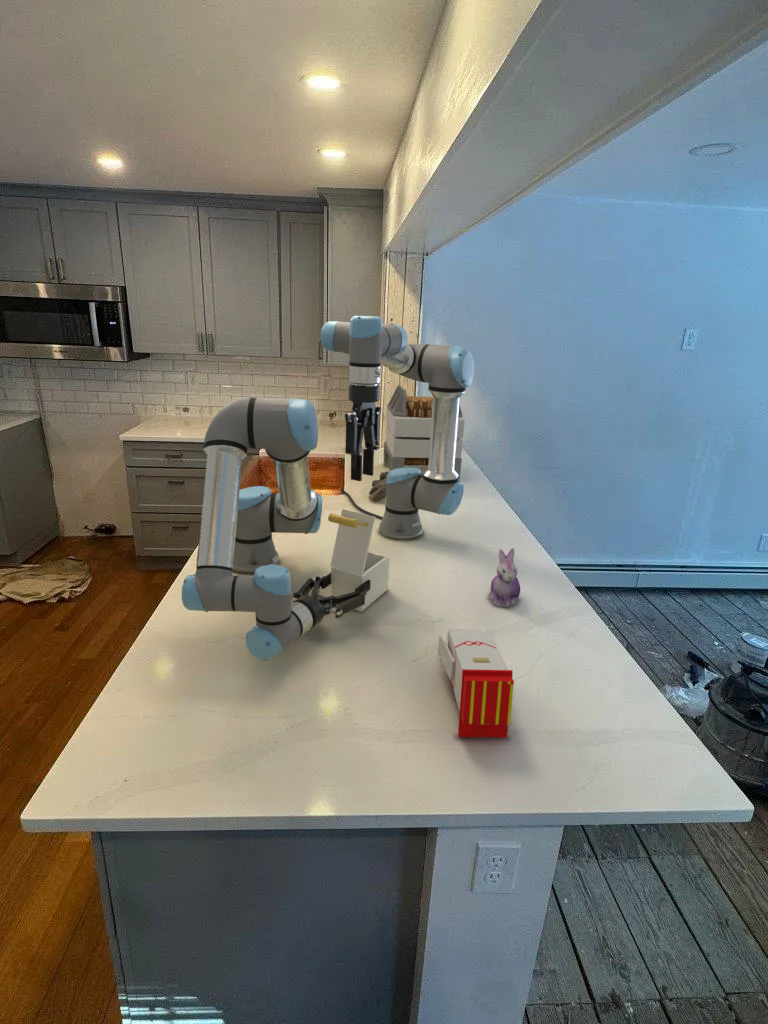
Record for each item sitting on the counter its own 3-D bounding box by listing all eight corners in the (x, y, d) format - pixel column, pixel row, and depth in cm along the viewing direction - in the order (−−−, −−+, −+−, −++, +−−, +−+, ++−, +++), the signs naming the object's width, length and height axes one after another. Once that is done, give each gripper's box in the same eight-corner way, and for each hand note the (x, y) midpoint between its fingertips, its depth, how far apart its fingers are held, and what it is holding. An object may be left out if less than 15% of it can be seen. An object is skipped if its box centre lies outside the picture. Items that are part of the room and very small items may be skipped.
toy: (488, 613, 130) (523, 677, 101) (484, 667, 133) (517, 744, 104) (435, 612, 130) (455, 676, 101) (432, 666, 133) (451, 743, 103)
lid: (343, 509, 148) (326, 507, 141) (375, 516, 144) (359, 515, 136) (331, 566, 149) (314, 567, 141) (363, 575, 144) (346, 576, 137)
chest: (359, 580, 164) (359, 548, 160) (388, 589, 160) (389, 556, 156) (331, 601, 152) (331, 567, 148) (361, 611, 148) (362, 576, 144)
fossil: (368, 477, 249) (395, 458, 244) (381, 493, 252) (408, 475, 247) (361, 498, 229) (391, 478, 224) (375, 515, 232) (405, 496, 227)
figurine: (502, 611, 151) (509, 560, 146) (479, 594, 159) (485, 545, 154) (530, 604, 155) (537, 554, 150) (506, 588, 163) (512, 540, 158)
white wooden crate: (382, 463, 289) (386, 382, 275) (445, 464, 293) (451, 384, 279) (390, 482, 257) (394, 392, 243) (460, 483, 261) (468, 394, 247)
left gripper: (264, 616, 138) (317, 581, 156) (341, 644, 128) (388, 603, 146) (263, 589, 135) (317, 556, 154) (341, 615, 125) (389, 577, 144)
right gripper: (358, 389, 126) (355, 489, 134) (396, 381, 141) (392, 471, 149) (330, 386, 130) (329, 483, 138) (370, 379, 145) (367, 467, 153)
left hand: (352, 579), depth 150 cm, fingers closed on chest, 10 cm apart
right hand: (362, 477), depth 144 cm, fingers open, 5 cm apart
